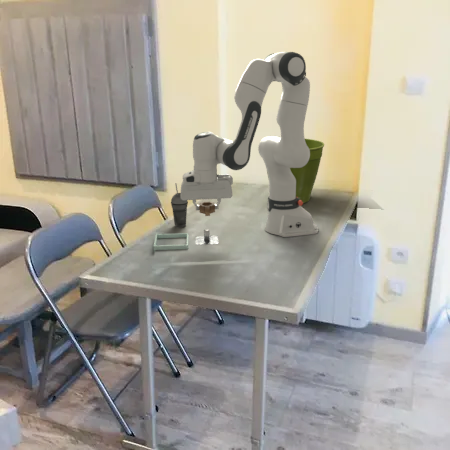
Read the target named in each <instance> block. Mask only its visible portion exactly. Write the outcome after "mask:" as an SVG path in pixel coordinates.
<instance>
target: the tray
mask: <svg viewBox="0 0 450 450" xmlns="http://www.w3.org/2000/svg"><path fill="white" fill-rule="evenodd" d="M189 237H190V235H189V232H187V233H183V232H181V233H156V234H155V235H154V243H153V252H154V253H156V251H163V250H165V251H168V250H188V249H189ZM170 238H171V239H175V238H180V239H181V238H186V244H165V245H164V244H162V245H157V242H158V239H170Z"/></svg>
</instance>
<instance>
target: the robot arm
mask: <svg viewBox="0 0 450 450" xmlns="http://www.w3.org/2000/svg"><path fill="white" fill-rule="evenodd" d="M306 69H307V67H306V60H305V58H304V56H302V55H301V53H297V52H295V51H280V52H275V53H271V54H269V55H267V56H266V57H264V58H263V59H261V58H256V59H253V60H251V61H250V62H249V64H248V65H247V66H246V69H245V70H244V72H243V73H242V75H241V78H240V79H239V82H238V84H237V87H236V89H235V91H234V92H235V93H234V102H235V104H236V106H237V108H238V109H239V110H240V112H241V121H240V125H239V128H238V131H237V134H236V136H235V139H234V140H232V139H229V138H225V137H221V136H219V135H217V134H214V132H213V131H204V132H200V133H197V134H196V135H195V136H194V138H193V140H192V142H193V143H192V158H193V161H194V165H193V170H190V171H188V172H185V173H183V175H182V182H181V184H180V193H181V199H182V200H187V201H192V203H193V205H194V206H195V211H200V209H199V204H198V203H197V201H198V200H216V199H217V202H216V203H215V210H219V206H220V204H221V202H222V199H231V198H232V197H233V188H232V185H233V183H234V182H233V181H234V179H233V176H232V175H230V174H229V173H228V174H227V173H226V174H225V173H224V174H218V168H217V167H218V166H217V165H219V164H220V165H223V166H225V167H227V168H229V169H230V170H233V171H240V170H242V169H244V168H245V167H246V166H247V165H248V163H249V161H250V158H251V149H252V144H253V140H254V138H255V135H256V132H257V128H258V125H259V122H260V119H261V115H262V106H263V103H264V100H265V96H266V95H267V92H268V89H269V87H270V86H271V84H272V83H273V82H278V83H281V88H282V89H281V91H282V93H281V97H280V100H279V105H278V109H277V115H276V124H278V127H279V129H280V136H277V135H269V136H264V137H263V138H262V139H261V140H260V142H259V144H258V147H257V148H258V149H257V150H258V154H259V156H260V158H262V160H263V163H264V165H265V169H266V173H267V172H268V174H267V178H268V177H269V179H268V194H269V195H268V197H267V218H266V222H265V226H264V231H265V232H267V233H268V234H272V235H277V236H280V237H283V238H287V237H288V238H289V237H297V236H307V235H316V234H318V233H319V227H318V225H317V224H316V223H315V222H314V220H313V216H312V214H311V213H310V212H309V211H307V210H306V209H305V208H303V205H304V203H303V202H302V200H300V199H299V198H298V197H296V179H295V177H294V175H293V174H292V172H291V170H290V168H301V167H303V166H305V165H306V164H307V162H308V161H309V158H310V150H309V148H308V146H307V145H306V142H305V139H306V138H305V130H304V129H305V121H306V115H307V111H308V110H307V109H308V105H309V101H310V91H311V81H310V79H308V78H307V70H306Z"/></svg>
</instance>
